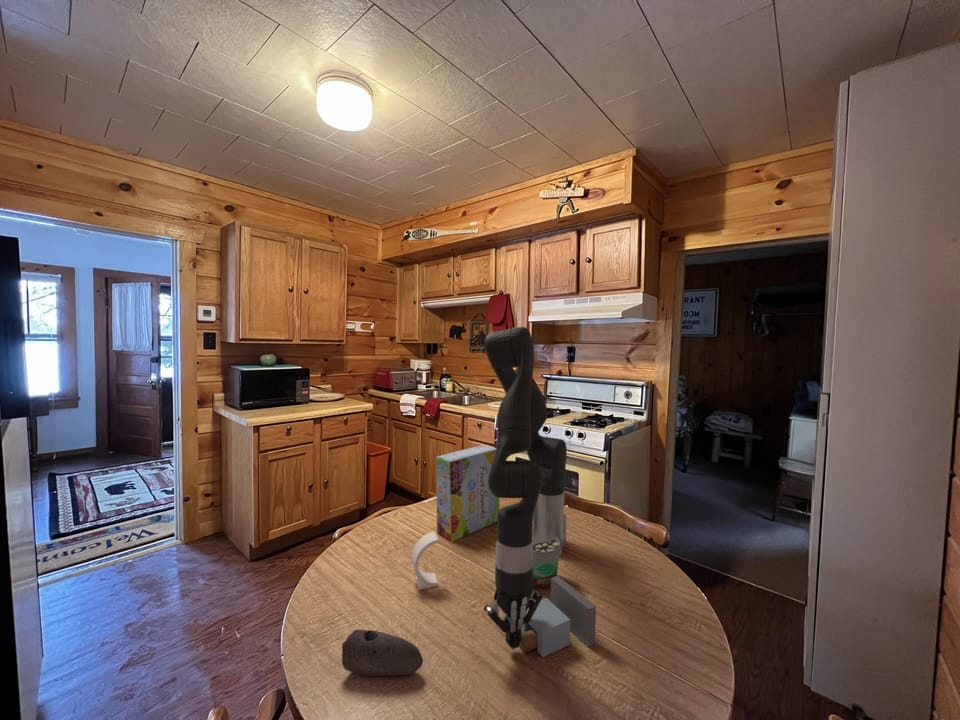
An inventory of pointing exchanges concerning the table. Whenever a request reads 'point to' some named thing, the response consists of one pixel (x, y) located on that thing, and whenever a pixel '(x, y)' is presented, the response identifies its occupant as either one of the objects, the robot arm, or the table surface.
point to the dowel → (528, 641)
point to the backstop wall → (575, 610)
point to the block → (549, 628)
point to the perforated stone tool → (379, 654)
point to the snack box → (465, 492)
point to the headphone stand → (422, 577)
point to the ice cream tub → (545, 563)
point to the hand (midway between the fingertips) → (513, 645)
